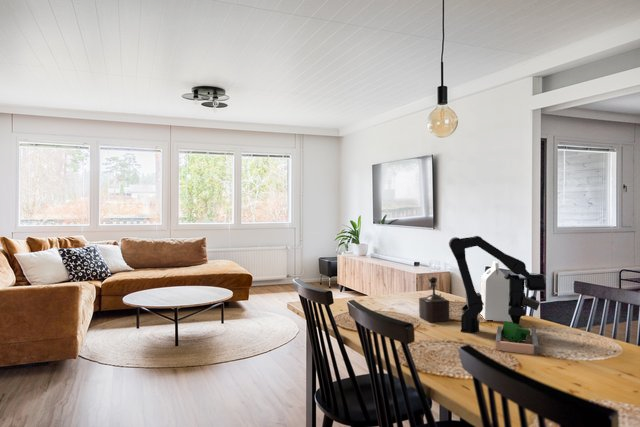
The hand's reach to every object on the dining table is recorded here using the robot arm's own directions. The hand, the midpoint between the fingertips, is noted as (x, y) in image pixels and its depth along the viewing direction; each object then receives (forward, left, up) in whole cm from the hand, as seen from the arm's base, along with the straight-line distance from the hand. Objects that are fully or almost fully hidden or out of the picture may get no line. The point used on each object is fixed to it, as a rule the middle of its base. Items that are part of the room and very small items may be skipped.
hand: (516, 328), depth 186 cm
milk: (-9, +23, -2) cm, 25 cm away
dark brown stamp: (-36, +12, -2) cm, 38 cm away
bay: (0, -15, -2) cm, 15 cm away
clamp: (0, -9, -2) cm, 9 cm away
